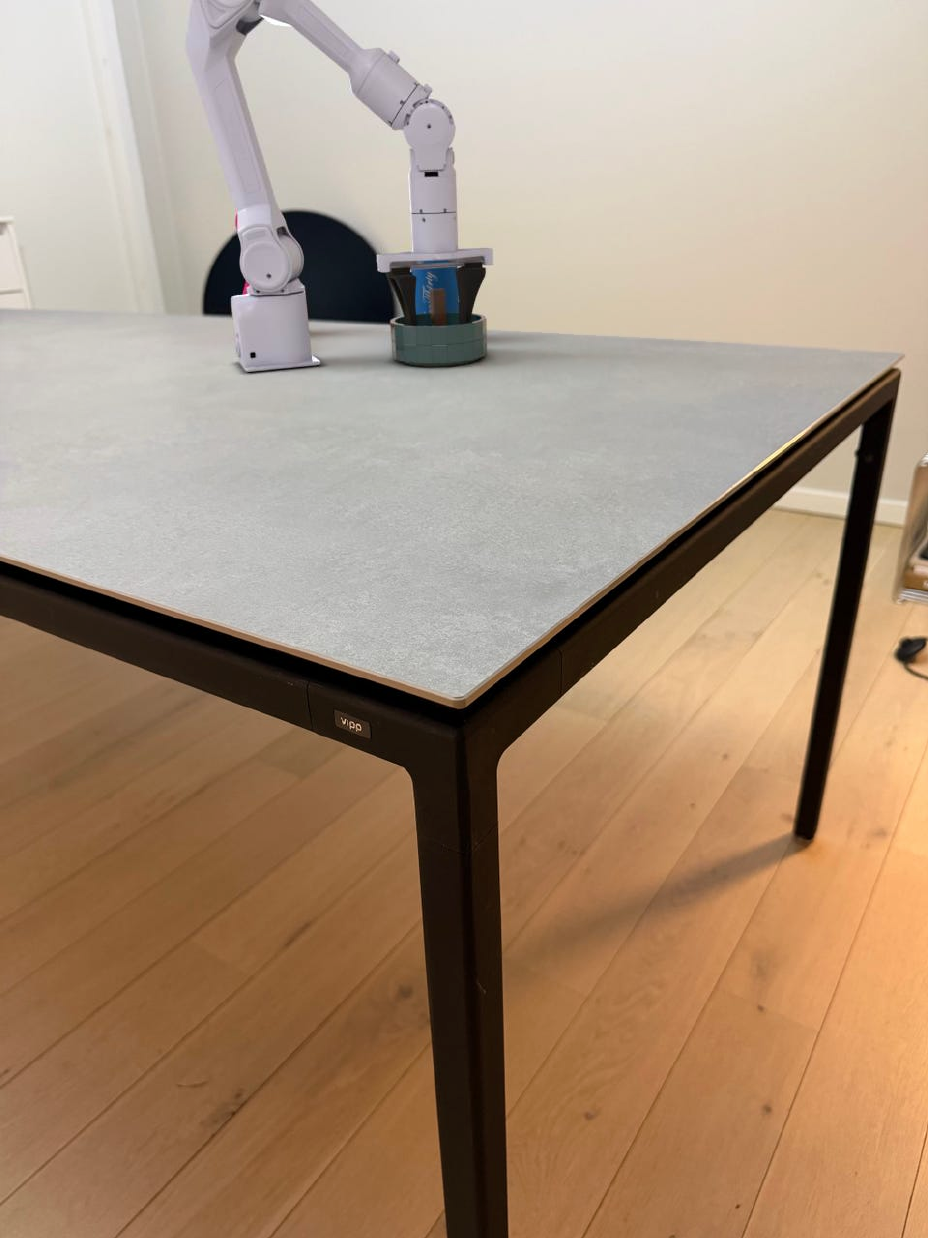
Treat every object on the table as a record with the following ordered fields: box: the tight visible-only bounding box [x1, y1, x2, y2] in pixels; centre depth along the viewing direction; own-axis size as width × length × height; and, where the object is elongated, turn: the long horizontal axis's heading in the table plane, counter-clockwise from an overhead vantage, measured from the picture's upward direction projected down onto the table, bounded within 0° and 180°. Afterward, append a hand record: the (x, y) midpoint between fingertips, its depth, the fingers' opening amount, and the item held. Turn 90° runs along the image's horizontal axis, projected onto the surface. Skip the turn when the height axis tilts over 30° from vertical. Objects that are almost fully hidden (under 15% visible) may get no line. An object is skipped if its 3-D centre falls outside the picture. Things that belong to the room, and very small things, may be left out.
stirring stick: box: [430, 288, 447, 326], centre depth 117 cm, size 2×2×8 cm
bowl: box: [389, 312, 488, 368], centre depth 118 cm, size 12×12×5 cm
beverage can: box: [410, 260, 459, 314], centre depth 129 cm, size 6×6×12 cm
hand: (438, 328), depth 118 cm, fingers open, 6 cm apart
